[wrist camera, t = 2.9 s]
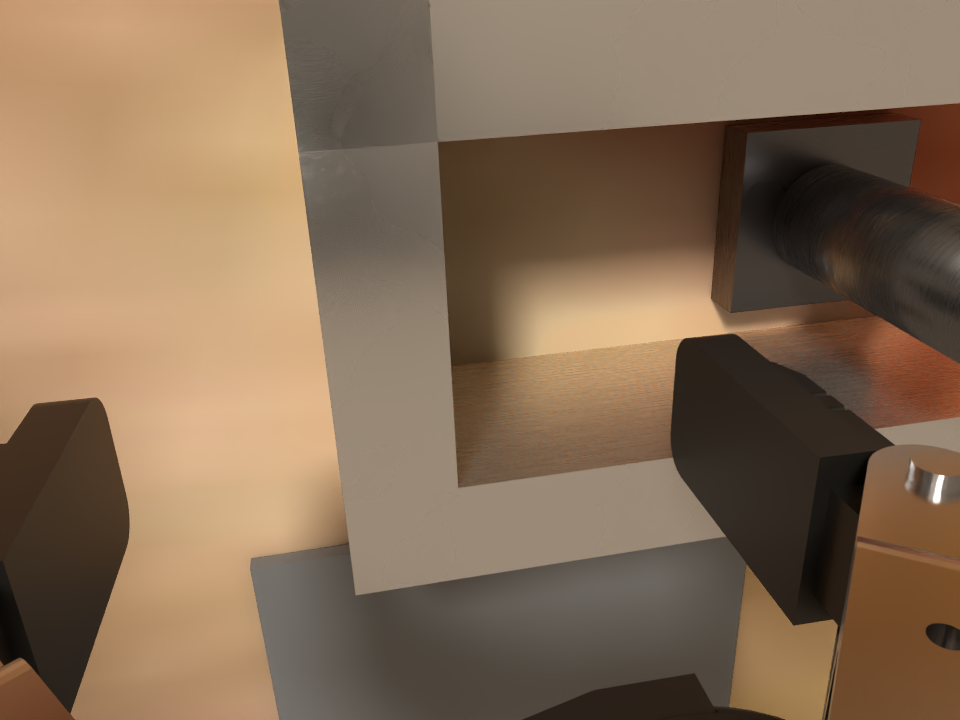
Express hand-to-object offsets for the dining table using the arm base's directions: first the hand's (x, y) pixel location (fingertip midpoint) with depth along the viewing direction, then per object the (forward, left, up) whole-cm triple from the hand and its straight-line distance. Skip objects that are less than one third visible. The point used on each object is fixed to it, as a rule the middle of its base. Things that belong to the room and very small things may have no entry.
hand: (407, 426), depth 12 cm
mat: (+14, +3, -7) cm, 16 cm away
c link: (-1, +6, -7) cm, 9 cm away
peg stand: (-1, +10, -7) cm, 12 cm away
